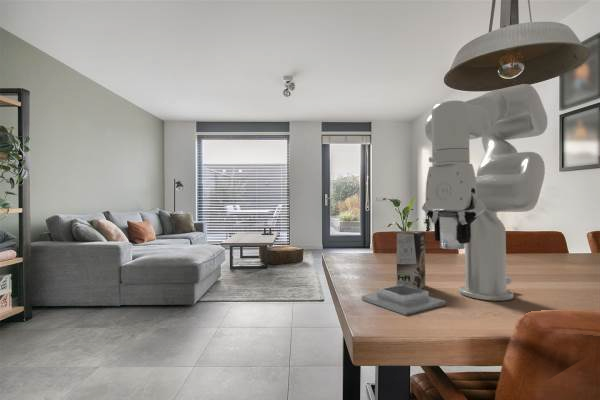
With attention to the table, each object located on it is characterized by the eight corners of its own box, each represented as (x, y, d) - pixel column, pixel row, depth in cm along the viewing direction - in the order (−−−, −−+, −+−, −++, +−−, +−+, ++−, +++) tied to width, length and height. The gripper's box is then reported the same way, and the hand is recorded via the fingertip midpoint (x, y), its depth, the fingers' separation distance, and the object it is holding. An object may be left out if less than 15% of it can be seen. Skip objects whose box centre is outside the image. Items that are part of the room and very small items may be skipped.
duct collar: (400, 292, 92) (400, 281, 92) (445, 304, 80) (445, 292, 80) (361, 299, 85) (361, 287, 85) (405, 315, 73) (405, 301, 73)
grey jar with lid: (448, 245, 78) (448, 210, 77) (470, 247, 73) (469, 211, 73) (434, 247, 75) (433, 211, 75) (455, 250, 70) (455, 212, 70)
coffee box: (419, 292, 92) (418, 233, 92) (395, 289, 95) (395, 232, 96) (426, 285, 100) (425, 231, 100) (404, 282, 103) (404, 230, 103)
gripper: (408, 162, 79) (409, 239, 79) (478, 153, 65) (480, 247, 65) (428, 163, 83) (430, 237, 83) (499, 155, 69) (501, 244, 69)
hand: (452, 240), depth 74 cm, fingers closed on grey jar with lid, 5 cm apart
